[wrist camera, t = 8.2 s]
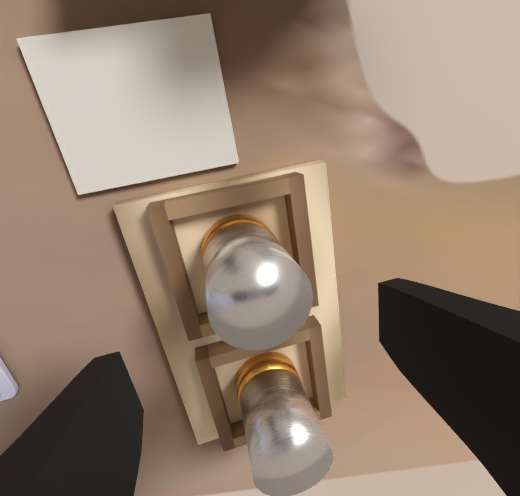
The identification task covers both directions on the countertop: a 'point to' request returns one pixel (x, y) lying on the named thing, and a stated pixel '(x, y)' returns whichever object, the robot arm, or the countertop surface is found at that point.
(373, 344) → the countertop surface
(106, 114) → the mat
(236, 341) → the sleeve
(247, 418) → the sleeve
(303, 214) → the seat board
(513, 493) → the robot arm
